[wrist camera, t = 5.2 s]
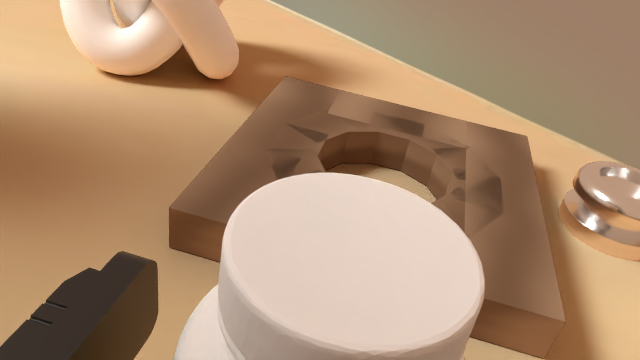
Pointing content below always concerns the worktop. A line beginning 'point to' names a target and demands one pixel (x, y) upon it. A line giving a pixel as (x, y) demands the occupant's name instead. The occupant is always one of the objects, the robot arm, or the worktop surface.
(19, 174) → the worktop surface
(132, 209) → the worktop surface
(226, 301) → the supplement bottle
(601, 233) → the metal grooved wheel
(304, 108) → the socket board
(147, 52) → the white knot
